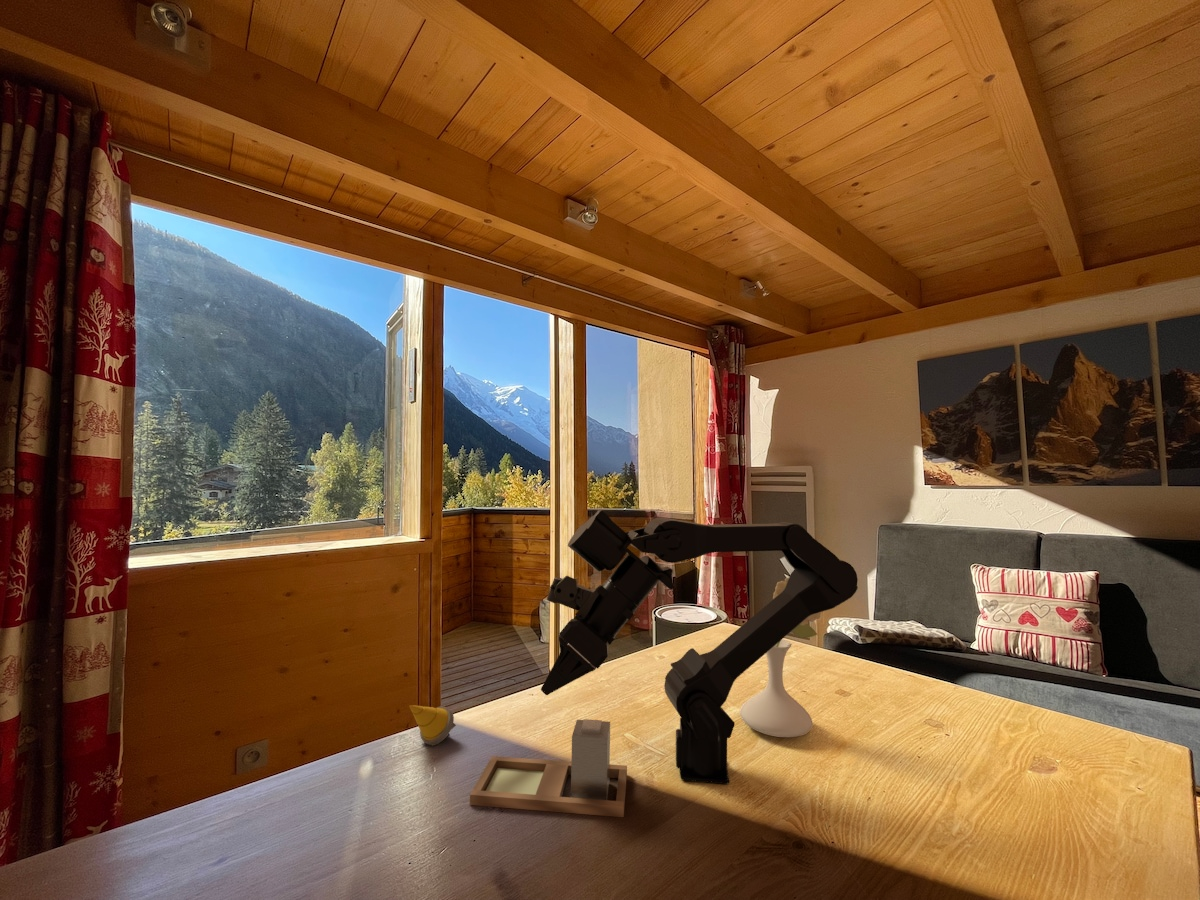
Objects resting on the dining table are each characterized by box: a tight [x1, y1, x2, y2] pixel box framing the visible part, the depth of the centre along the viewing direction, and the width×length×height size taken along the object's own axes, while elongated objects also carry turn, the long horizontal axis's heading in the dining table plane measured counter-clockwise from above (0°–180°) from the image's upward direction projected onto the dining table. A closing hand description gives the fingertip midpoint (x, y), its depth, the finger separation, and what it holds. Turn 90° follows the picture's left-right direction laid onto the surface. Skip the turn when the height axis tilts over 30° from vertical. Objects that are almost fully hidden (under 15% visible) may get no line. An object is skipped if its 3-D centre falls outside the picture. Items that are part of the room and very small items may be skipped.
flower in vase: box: [739, 577, 822, 738], centre depth 86 cm, size 13×11×25 cm
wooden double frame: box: [469, 755, 628, 818], centre depth 68 cm, size 19×9×1 cm, turn 85°
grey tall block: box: [570, 718, 611, 800], centre depth 68 cm, size 4×4×9 cm
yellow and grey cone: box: [408, 704, 457, 746], centre depth 79 cm, size 5×5×10 cm
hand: (548, 684), depth 70 cm, fingers open, 9 cm apart
